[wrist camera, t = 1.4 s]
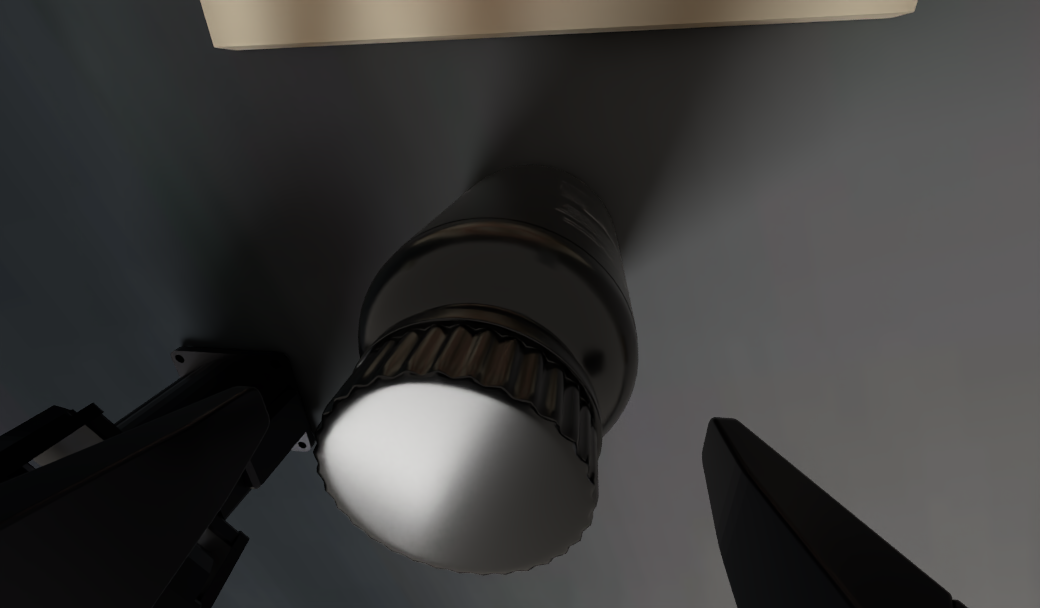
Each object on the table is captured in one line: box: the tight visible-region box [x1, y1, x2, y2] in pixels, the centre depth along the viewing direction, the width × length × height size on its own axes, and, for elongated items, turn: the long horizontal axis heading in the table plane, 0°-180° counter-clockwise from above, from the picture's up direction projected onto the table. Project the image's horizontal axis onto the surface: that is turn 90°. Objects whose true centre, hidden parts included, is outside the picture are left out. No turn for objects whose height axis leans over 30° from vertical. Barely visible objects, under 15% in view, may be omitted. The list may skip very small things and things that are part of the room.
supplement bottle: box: [313, 165, 638, 576], centre depth 12 cm, size 7×7×12 cm
